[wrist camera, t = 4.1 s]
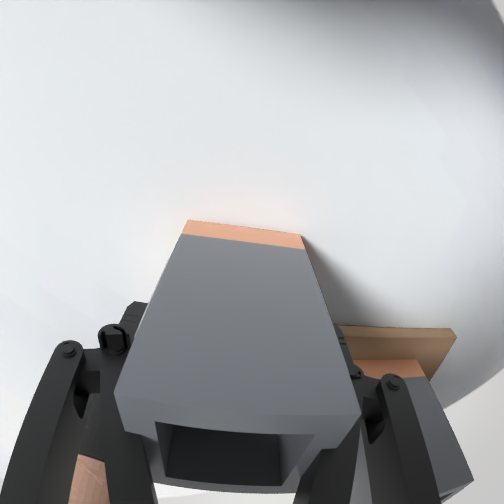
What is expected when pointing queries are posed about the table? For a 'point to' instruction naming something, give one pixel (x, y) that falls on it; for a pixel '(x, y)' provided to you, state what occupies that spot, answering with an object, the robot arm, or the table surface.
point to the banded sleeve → (236, 365)
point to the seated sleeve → (433, 428)
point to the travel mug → (90, 462)
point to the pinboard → (400, 345)
